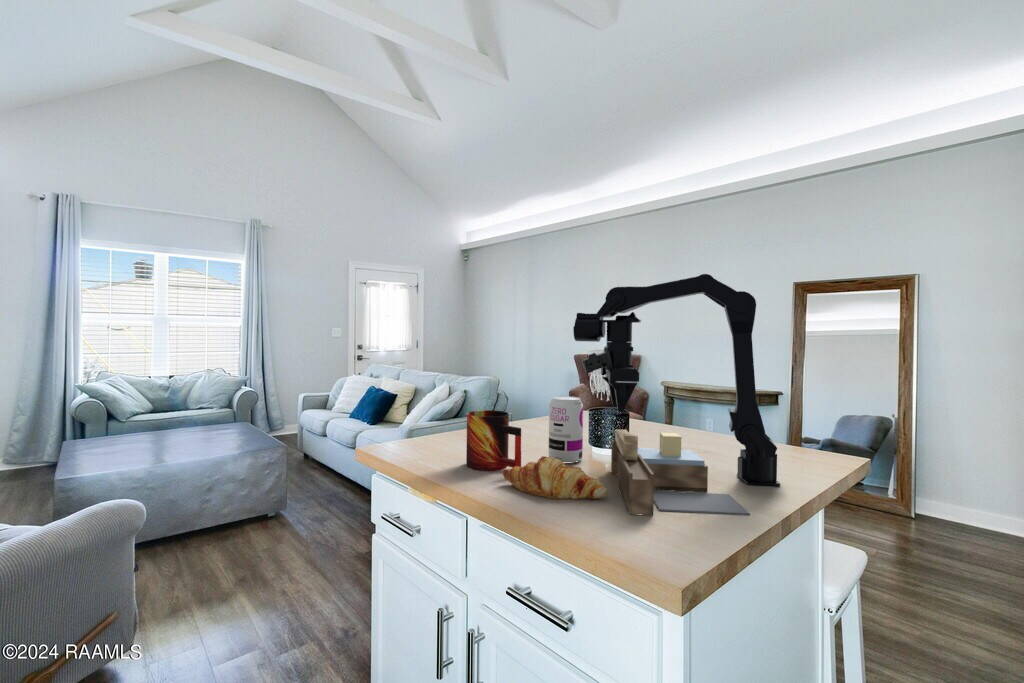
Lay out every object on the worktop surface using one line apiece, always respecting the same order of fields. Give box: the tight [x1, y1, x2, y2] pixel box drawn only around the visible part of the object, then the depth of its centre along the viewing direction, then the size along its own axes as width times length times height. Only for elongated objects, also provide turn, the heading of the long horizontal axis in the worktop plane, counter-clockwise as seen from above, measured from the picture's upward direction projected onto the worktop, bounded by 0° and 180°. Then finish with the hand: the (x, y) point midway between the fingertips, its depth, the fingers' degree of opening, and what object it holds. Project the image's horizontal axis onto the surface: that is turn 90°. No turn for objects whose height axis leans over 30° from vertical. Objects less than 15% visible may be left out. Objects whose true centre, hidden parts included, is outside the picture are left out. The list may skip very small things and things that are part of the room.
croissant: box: [502, 455, 608, 500], centre depth 92 cm, size 21×10×8 cm, turn 66°
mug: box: [465, 409, 522, 472], centre depth 110 cm, size 10×14×12 cm
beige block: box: [614, 429, 639, 460], centre depth 99 cm, size 2×15×5 cm, turn 175°
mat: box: [654, 490, 751, 516], centre depth 87 cm, size 15×10×1 cm, turn 85°
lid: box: [620, 432, 705, 466], centre depth 99 cm, size 15×9×5 cm, turn 85°
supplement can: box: [548, 395, 584, 462], centre depth 116 cm, size 8×8×15 cm
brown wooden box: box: [610, 439, 709, 516], centre depth 93 cm, size 17×26×7 cm, turn 175°
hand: (617, 409), depth 111 cm, fingers open, 8 cm apart
